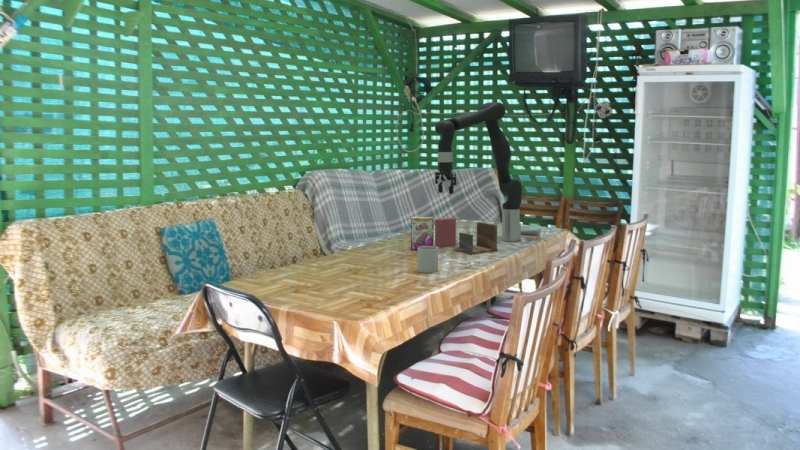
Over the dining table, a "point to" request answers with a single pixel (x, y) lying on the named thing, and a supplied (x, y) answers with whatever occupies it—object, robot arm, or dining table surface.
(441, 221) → the burgundy book
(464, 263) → the dining table surface
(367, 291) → the dining table surface
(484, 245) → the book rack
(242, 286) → the dining table surface
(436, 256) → the mug
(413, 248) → the candy bar box
